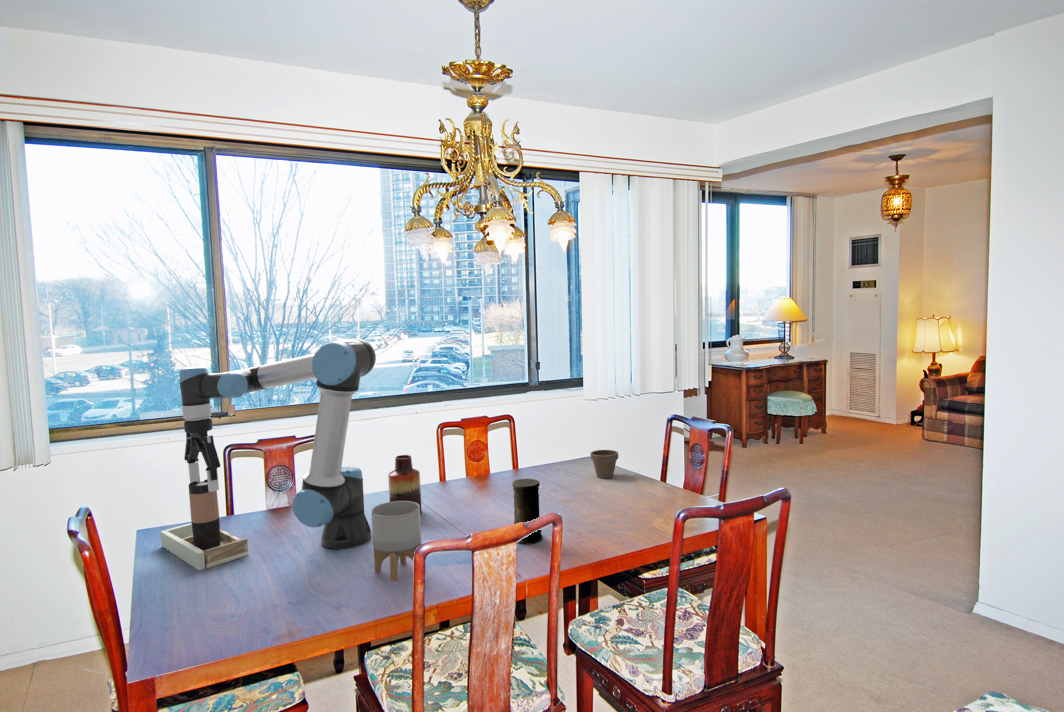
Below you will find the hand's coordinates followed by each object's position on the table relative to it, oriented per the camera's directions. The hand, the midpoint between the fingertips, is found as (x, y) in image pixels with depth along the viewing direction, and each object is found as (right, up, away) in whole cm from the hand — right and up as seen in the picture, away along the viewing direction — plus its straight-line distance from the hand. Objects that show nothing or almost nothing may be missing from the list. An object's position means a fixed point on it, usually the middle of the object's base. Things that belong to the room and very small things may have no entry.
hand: (204, 487), depth 196 cm
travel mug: (0, -19, +2) cm, 19 cm away
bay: (0, -20, +2) cm, 20 cm away
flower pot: (+129, -10, +69) cm, 147 cm away
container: (+98, -17, +3) cm, 100 cm away
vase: (+55, -16, +30) cm, 65 cm away
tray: (+3, -20, -1) cm, 20 cm away
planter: (+63, -20, -17) cm, 68 cm away
